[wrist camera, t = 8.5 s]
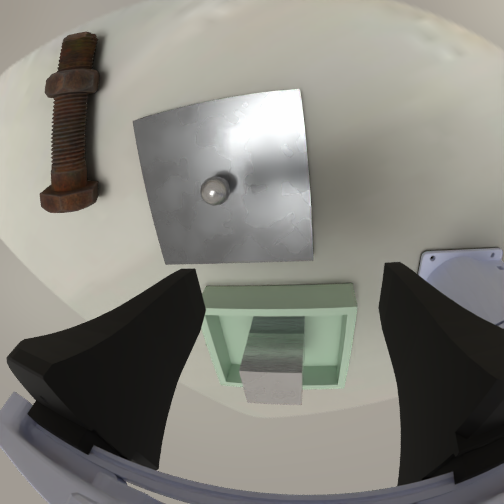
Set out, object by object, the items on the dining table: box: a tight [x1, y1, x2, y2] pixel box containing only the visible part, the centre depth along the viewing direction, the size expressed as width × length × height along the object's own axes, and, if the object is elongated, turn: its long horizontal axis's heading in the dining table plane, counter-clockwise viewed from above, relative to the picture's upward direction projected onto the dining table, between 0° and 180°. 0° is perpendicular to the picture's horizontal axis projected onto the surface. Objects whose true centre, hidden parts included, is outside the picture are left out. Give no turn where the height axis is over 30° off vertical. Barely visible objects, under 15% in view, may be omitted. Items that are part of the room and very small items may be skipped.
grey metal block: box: [239, 316, 305, 405], centre depth 21 cm, size 4×4×6 cm
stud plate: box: [133, 89, 313, 265], centre depth 18 cm, size 12×12×3 cm
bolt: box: [40, 32, 99, 213], centre depth 16 cm, size 6×5×15 cm
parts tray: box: [201, 283, 357, 389], centre depth 23 cm, size 12×10×3 cm
